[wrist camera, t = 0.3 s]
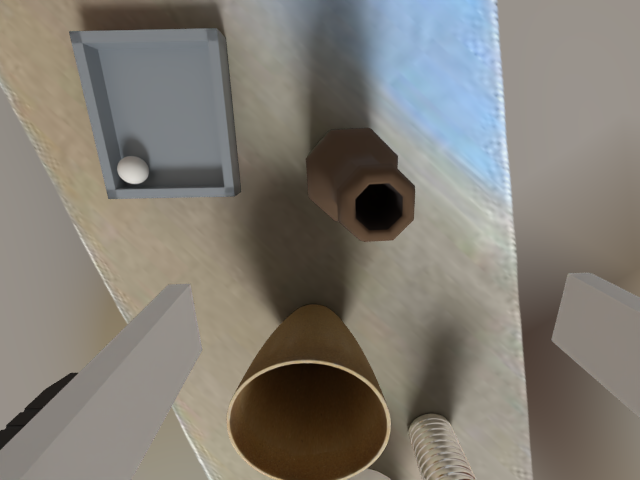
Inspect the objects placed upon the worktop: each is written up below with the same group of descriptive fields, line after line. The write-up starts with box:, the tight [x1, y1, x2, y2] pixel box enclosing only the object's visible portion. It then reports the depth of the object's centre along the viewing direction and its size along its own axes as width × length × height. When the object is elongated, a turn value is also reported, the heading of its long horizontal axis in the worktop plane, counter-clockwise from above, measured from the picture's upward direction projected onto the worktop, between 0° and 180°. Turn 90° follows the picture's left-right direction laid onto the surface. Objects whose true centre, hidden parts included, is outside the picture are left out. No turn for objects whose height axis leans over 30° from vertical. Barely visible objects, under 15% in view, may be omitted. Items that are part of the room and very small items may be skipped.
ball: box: [117, 156, 149, 184], centre depth 34 cm, size 3×3×3 cm
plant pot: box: [226, 304, 391, 480], centre depth 35 cm, size 15×15×16 cm
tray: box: [69, 28, 241, 199], centre depth 33 cm, size 16×14×3 cm
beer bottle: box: [306, 128, 415, 242], centre depth 25 cm, size 8×8×24 cm
